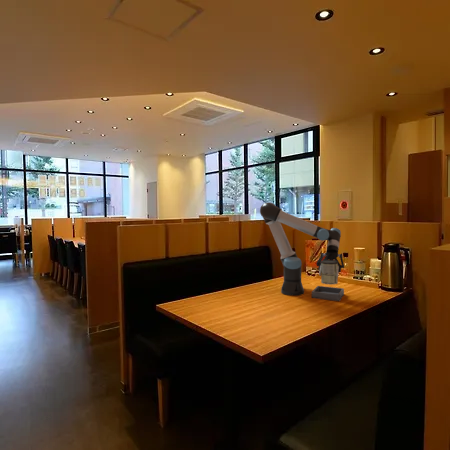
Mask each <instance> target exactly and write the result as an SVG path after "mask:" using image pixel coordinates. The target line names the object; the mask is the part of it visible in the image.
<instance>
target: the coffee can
mask: <svg viewBox="0 0 450 450" xmlns="http://www.w3.org/2000/svg"><path fill="white" fill-rule="evenodd" d="M338 261H339V260H338ZM338 261H335V260H323V259H322V261H321V276H320V277H321V280H320V282H321V284H324V285H331V286H332V285H338V284H339V281H338V278H339V276H338V277H337V276H336V274H337V267H338Z"/></svg>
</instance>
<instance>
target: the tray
mask: <svg viewBox="0 0 450 450" xmlns="http://www.w3.org/2000/svg"><path fill="white" fill-rule="evenodd" d="M344 295H345V289H344V288H341V287H333V286H332V287H331V286H324V285H317V286H316V287H315V288H314V289H312V291H311V299H317V300H326V301H334V302H340V301H341V300H342V298H343V297H344Z"/></svg>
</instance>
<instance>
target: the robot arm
mask: <svg viewBox="0 0 450 450" xmlns="http://www.w3.org/2000/svg"><path fill="white" fill-rule="evenodd" d="M259 214H260V215H261V217H262V218H263V220H264V223H265V224H266V225H268V227H269V229H270V232H271V234H272V236H273V237H272V238H273V239H274V241H275V244H276V246H277V248H278V250H279V253H280V261H281V263H282V266H283V282H282V284H281V285H282V286H281V289H280V293H281V294H283V295H286V296H302V295H304V294H305V290H304V289H305V288H304V286H303V284H302V264H303V263H302V260H301V258H299V257H298V255H297V253H296V251H294V250H293V249H292V246H291V243H290V242H289V239H288V237H287V234H286V233H285V230H284V228H283V226H282V224H283V225H286V226H288V227H290V228H293V229H295V230H297V231H300V232H303V233H304V234H307V235H309V236H311V237H314V238H316V239H319V241H327V245H326V252H325V253H323V252H321V253H320V256H319V257H318V260H317V261H316V263H315V264H316V267H318V268H317V269H318V275H319V276H320V277H321V261H322V260H335V261H338V267H337V274H336V276H337V277H338V278H339V273H342V272H341V270H342V269H345V264H344V261H343V257H344V256H343V253H339V249H340V240H341V236H342V232H341V229H339V228H338V227H332V228H331V229H328V228H324V227H321V226H319V225H316V224H314V223H311V222H310V221H306V220H304V219H302V218H299V217H297V216H295V215H293V214H290V213H288V212H285V211H284V210H283V209H282V208H280V207H279V206H276V204H274V203H273V202H265V203H263V204H262V205H261V206H260V208H259ZM338 257H339V258H340V259H339V260H340V262H339V260H338Z"/></svg>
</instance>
